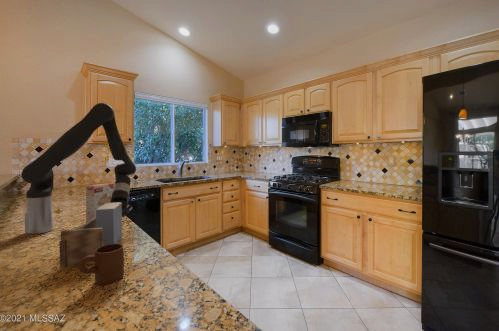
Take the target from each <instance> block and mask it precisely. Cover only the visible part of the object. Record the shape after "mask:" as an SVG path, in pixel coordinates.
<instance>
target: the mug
mask: <svg viewBox="0 0 499 331" xmlns="http://www.w3.org/2000/svg"><path fill="white" fill-rule="evenodd" d="M124 254H125V252H124V246H123V244H121V243H117V244H109V245H104V246H101V247H99V248H97V249H96V250H95V256H91V255H89V256H86V257H84V258H83V259H81V261H80V262H79V264H78V265H77V267H78V268H77V269H78V271H79V272H80V273H82V274H84V275H86V274H87V275H88V274H94V281H95V283H96V284H98V285H109V284H112V283H116V282H118V281H120V279H122V278H123V277H124V275H125V256H124ZM87 261H95V263H94V265H92V266H86V264H85V263H86V262H87Z"/></svg>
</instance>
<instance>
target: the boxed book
mask: <svg viewBox="0 0 499 331" xmlns="http://www.w3.org/2000/svg"><path fill="white" fill-rule="evenodd" d="M122 212H123V211H122V205H121V202H116V203H105V204H104V205H102V206H101V207H99V208H98V209H96V228H102V227H103V246H104V245H109V244H119V242H120V241H121V239H122V237H123V222H122V221H123V217H122Z"/></svg>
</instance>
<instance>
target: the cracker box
mask: <svg viewBox="0 0 499 331" xmlns="http://www.w3.org/2000/svg"><path fill="white" fill-rule="evenodd" d="M114 186H115V183H108V182H107V183H100V184H99V183H97V184H92V185H86V186H85V216H86V217H85V219H86V220H85V223H87V222H88V221H89V220H91V219H92V218H94V217H96V209H98V208H99V207H101V206H102V205H104V204H105V203H110V202H111V197H112V192H113V188H114Z"/></svg>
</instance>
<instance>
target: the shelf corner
mask: <svg viewBox="0 0 499 331" xmlns="http://www.w3.org/2000/svg"><path fill="white" fill-rule="evenodd" d="M58 243H59V244H58V245H59V268H60V269H66V268H68V267H73V266H75V267H76V266H78V264H79V262H80V261H81V259H83V258H84V257H86V256H89V255H91V256H95V250H96V249H97V248H99V247H101V246H103V227H102V228H96V217H94V218H92V219H91V220H89V221H88V222H87V223H86V222H85V223H83V224H82V225H81V226H80V227H78V228H76V229H65V230H64V229H63V230H61V231H60V241H59V242H58ZM91 264H94V265H95V261H87V262H86V263H85V265H91Z"/></svg>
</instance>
